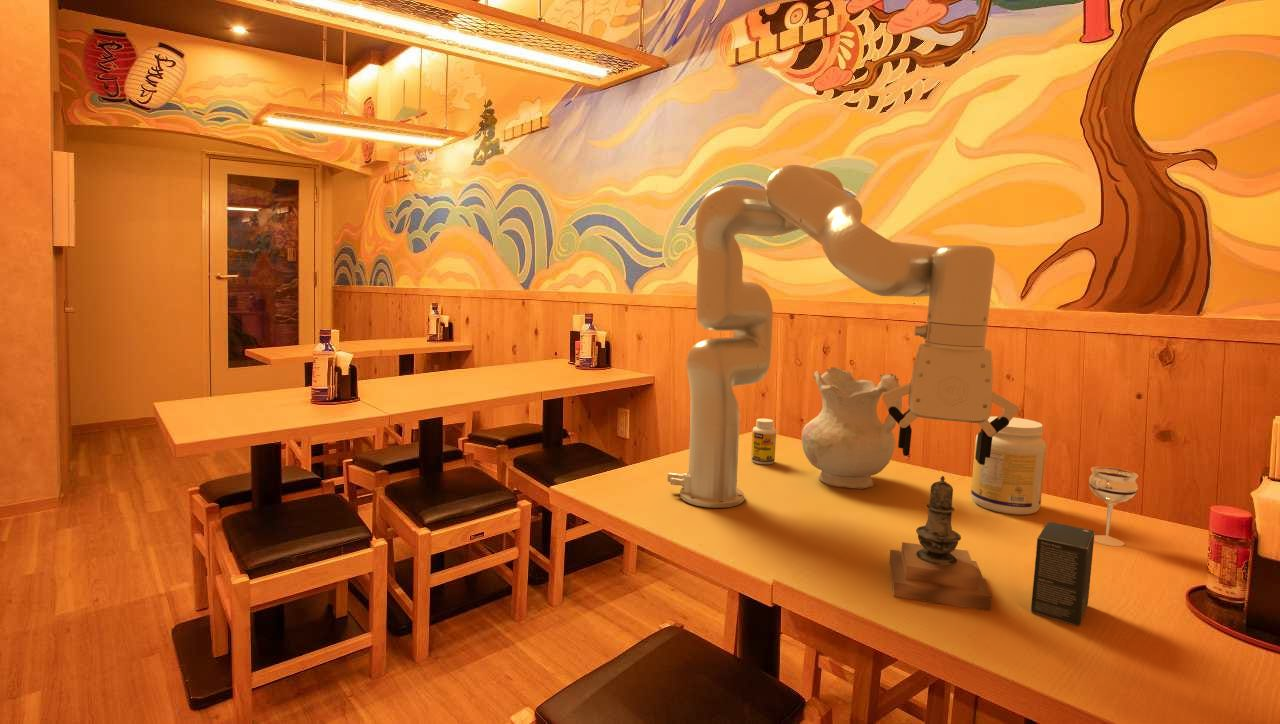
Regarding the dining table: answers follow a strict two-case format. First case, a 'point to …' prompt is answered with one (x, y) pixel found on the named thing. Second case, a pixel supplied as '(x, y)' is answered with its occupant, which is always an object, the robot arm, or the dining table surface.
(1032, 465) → the supplement tub
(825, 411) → the ceramic pitcher
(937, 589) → the plinth
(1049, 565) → the box
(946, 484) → the salt shaker
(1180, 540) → the dining table surface
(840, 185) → the robot arm
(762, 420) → the supplement bottle
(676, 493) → the dining table surface
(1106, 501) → the wineglass
